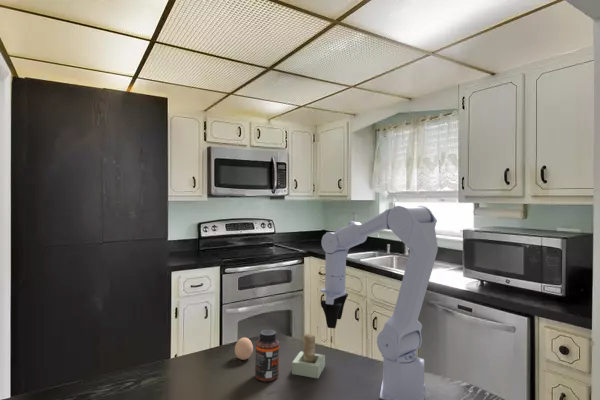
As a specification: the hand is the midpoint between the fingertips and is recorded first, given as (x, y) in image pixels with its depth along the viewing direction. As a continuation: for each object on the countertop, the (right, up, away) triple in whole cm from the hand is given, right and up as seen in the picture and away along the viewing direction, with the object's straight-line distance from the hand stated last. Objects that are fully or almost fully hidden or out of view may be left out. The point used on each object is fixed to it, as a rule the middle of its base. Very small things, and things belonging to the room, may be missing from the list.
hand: (334, 323), depth 100 cm
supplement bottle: (-18, -10, -10) cm, 23 cm away
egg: (-25, -10, 0) cm, 27 cm away
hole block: (-7, -10, -6) cm, 14 cm away
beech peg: (-7, -10, -6) cm, 14 cm away
